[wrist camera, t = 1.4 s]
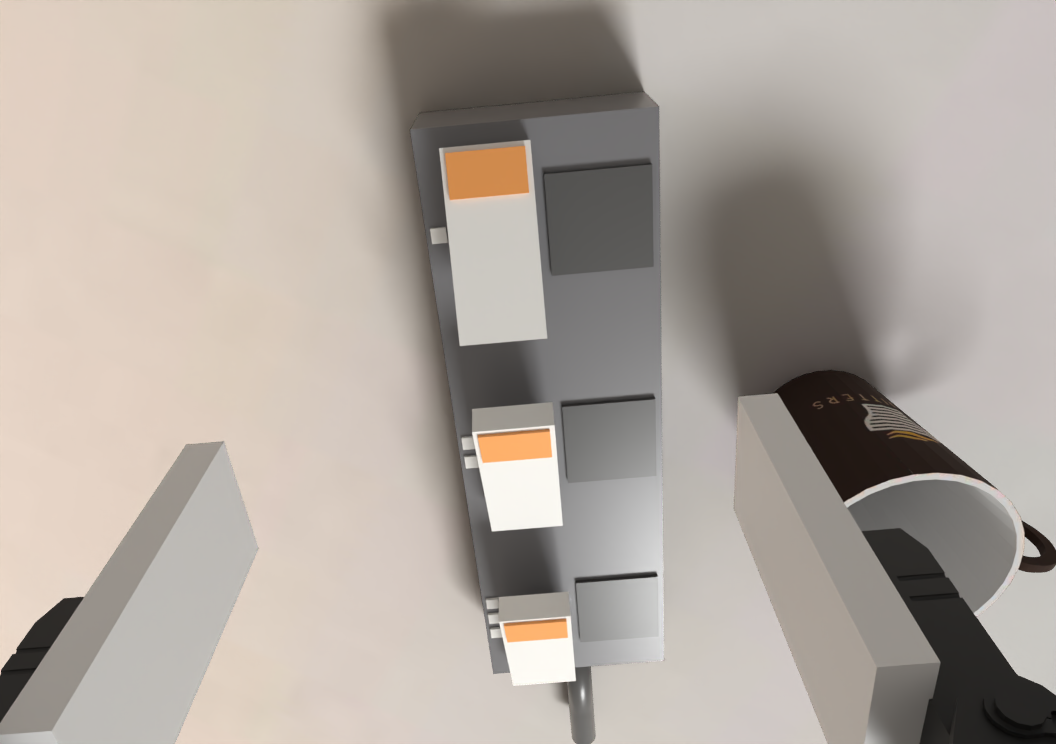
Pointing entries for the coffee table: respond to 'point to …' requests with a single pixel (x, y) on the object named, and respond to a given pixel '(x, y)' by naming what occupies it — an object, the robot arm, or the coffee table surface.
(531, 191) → the block
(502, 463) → the rocker
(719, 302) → the coffee table surface
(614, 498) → the power strip
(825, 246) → the coffee table surface
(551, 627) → the block
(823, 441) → the coffee mug
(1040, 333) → the coffee table surface
